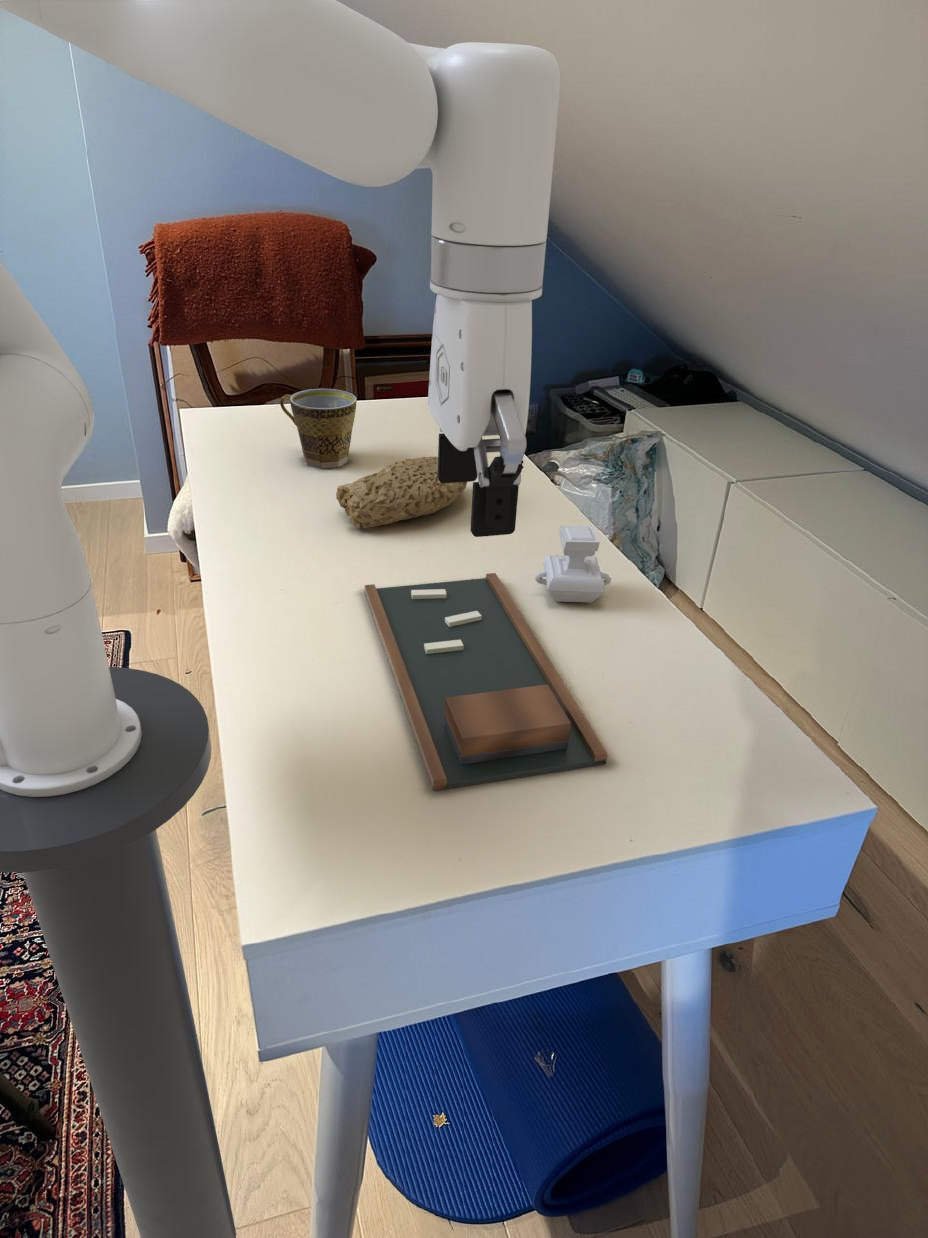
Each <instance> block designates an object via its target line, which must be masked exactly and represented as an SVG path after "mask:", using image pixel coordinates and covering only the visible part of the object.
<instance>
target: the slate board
mask: <svg viewBox="0 0 928 1238" xmlns="http://www.w3.org/2000/svg"><path fill="white" fill-rule="evenodd" d="M376 587H377V586H376V585H375V583H373V584H365V585H364V596H365V599H366V601H367V604H368V608H369V610H370V613H371V616H372V619H373V621H374V625H375V627H376V630H377V633H378V637H379V640H380V642H381V645H382V648H383V650H384V653H385V656H386V659H387V663H388V665H389V667H390V671H391V673H392V676H393V679H394V682H395V685H396V688H397V691H398V693H399V697H400V699H401V702H402V706H403V708H404V711H405V714H406V716H407V720H408V722H409V725H410V728H411V731H412V734H413V737H414V740H415V743H416V746H417V748H418V752H419V755H420V757H421V760H422V763H423V766H424V769H425V771H426V772H425V773H426V775H427V777H428V781H429V783H430V786H431V789H432V791H433V792H434V791H435V792H436V791H442V790H448V789H454V788H460V787H467V786H473V785H478V784H479V785H480V784H485V783H492V782H499V781H504V780H511V779H519V778H524V777H530V776H537V775H543V774H549V773H557V772H562V771H569V770H575V769H582V768H589V767H592V766H593V767H595V766H600V765H606V764H607V760H608V751H606V749H605V747H604V745H603V744H602V742H601V741H600V739H599V737H598V735H597V734H596V733H595V731H594V729H593V728H592V726H591V725H590V723H589V721H588V719H587V717H586V716H585V715H584V713H583V711H582V710H581V709H580V707H579V705H578V704H577V702H576V701H575V699H574V697H573V696H572V694H571V692H570V691H569V689H568V688H567V685H565V682H564V681H563V680H562V678H561V676H560V675H559V673H558V671H557V670H556V668H555V667H554V665H553V663H552V661H551V660H550V658H549V656H548V655H547V653H546V652H545V651H544V649H543V647H542V645H541V644H540V643H539V641H538V639H537V638H536V636H535V634H534V633H533V631H532V630H531V628H530V626H529V625H528V623H527V622H526V620H525V618H524V617H523V615H522V614H521V612H520V610H519V609H518V607H517V606H516V604H515V602H514V601H513V599H512V597H511V595H510V594H509V593H508V591H507V589H506V588H505V586H504V584H503V582H502V581H501V580H500V578H499V576H498V574H497V573H496V572H491V573H485V577H483V578H473V579H462V580H452V581H441V582H431V583H420V584H410V585H399V586H389V587H379V588H376ZM431 589H445V590H446V594H447V595H446V598H438V599H412V596H411V590H431ZM473 611H478V612H479V613H480V614H481V616H482V619H481V620H479V621H475V622H470V623H465V624H461V625H456V626H451V627H449V626H448V625H447V624H446V623H445V617H449V616H454V615H459V614H464V613H469V612H473ZM452 640H461V641H462V643H463V645H464V648H463V650H459V651H450V652H441V653H433V654H426V651H425V649H424V644H425V643H434V642H443V641H452ZM547 684H548V685H549V687H550V689H551V691H552V692H553V694H554V696H555V697H556V699H557V701H558V702H559V704H560V706H561V707H562V709H563V711H564V712H565V714H566V716H567V717H568V719H569V721H570V723H571V727H570V734H569V740H568V748H567V749H564V750H557V751H551V752H544V753H537V754H531V755H524V756H517V757H511V758H504V759H497V760H491V761H484V762H477V763H471V764H464V765H461V763H460V760H459V758H458V755H457V753H456V750H455V748H454V745H453V743H452V740H451V738H450V735H449V733H448V730H447V728H446V725H445V699H446V698H447V697H454V696H462V695H470V694H478V693H485V692H493V691H501V690H508V689H516V688H524V687H532V686H539V685H547Z"/></svg>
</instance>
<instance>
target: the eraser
mask: <svg viewBox="0 0 928 1238" xmlns="http://www.w3.org/2000/svg"><path fill="white" fill-rule="evenodd" d="M445 725H446V728H447V730H448V733H449V735H450V738H451V740H452V743H453V745H454V748H455V750H456V753H457V755H458V758H459V760H460V763H461V765H464V764H471V763H477V762H484V761H491V760H497V759H504V758H511V757H517V756H524V755H531V754H537V753H544V752H551V751H557V750H564V749H567V748H568V740H569V734H570V727H571V723H570V721H569V719H568V717H567V716H566V714H565V712H564V711H563V709H562V707H561V706H560V704H559V702H558V701H557V699H556V697H555V696H554V694H553V692H552V691H551V689H550V687H549V685H548V684H547V685H539V686H532V687H524V688H516V689H508V690H501V691H493V692H485V693H478V694H470V695H462V696H454V697H447V698H446V699H445Z"/></svg>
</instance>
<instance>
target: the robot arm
mask: <svg viewBox="0 0 928 1238" xmlns="http://www.w3.org/2000/svg"><path fill="white" fill-rule="evenodd" d="M0 8H1V9H3V10H5V11H7V12H8V13H11V14H13V15H15V16H17V17H19V18H20V19H23V20H25V21H27V22H28V23H31V24H32V25H35V26H37V27H39V28H41V29H42V30H45V31H46V32H48V33H50V34H52V35H53V36H55V37H57V38H59V39H61V40H63V41H65V42H67V43H69V44H71V45H73V46H75V47H77V48H79V49H81V50H83V51H85V52H87V53H88V54H91V55H92V56H95V57H97V58H99V59H101V60H103V61H105V62H107V63H108V64H110V65H112V66H114V67H116V68H117V69H119V70H121V71H122V72H123V73H125V74H127V75H129V76H130V77H132V78H134V79H136V80H139V81H141V82H143V83H146V84H149V85H150V86H151V85H152V86H153V87H156V88H158V89H160V90H162V91H165V92H166V93H169V94H171V95H172V96H174V97H176V98H177V99H179V100H182V101H183V102H185V103H187V104H188V105H191V106H192V107H194V108H196V109H199V110H200V111H202V112H204V113H206V114H207V115H210V116H211V117H213V118H215V119H216V120H219V121H221V122H223V123H224V124H226V125H228V126H231V127H232V128H234V129H236V130H238V131H240V132H242V133H244V134H246V135H248V136H250V137H252V138H254V139H256V140H258V141H260V142H261V143H264V144H266V145H269V146H270V147H272V148H274V149H276V150H278V151H280V152H281V153H284V154H286V155H288V156H290V157H292V158H294V159H296V160H298V161H300V162H302V163H304V164H306V165H309V166H310V167H311V168H314V169H316V170H319V171H321V172H322V173H324V174H327V175H329V176H331V177H333V178H335V179H337V180H340V181H343V182H345V183H348V184H351V185H354V186H361V187H365V188H366V187H367V188H377V187H385V186H389V185H392V184H395V183H397V182H399V181H401V180H403V179H405V178H406V177H408V176H409V175H410V174H411V173H412V172H413V171H415V170H418V169H420V170H421V169H430V171H431V175H432V187H431V193H432V194H431V231H430V232H431V233H430V234H431V236H430V256H429V257H430V259H429V263H430V264H429V269H430V270H429V290H430V291H432V293H434V294H435V295H436V297H435V298H436V299H435V305H434V311H433V312H434V313H433V323H432V332H431V333H432V334H431V349H430V362H429V377H428V393H427V406H428V407H427V408H428V411H429V414H430V415H431V417H432V419H433V421H434V422H435V423H436V425H437V426H438V429H439V431H440V433H438V444H437V445H438V446H437V447H438V448H437V454H438V455H437V457H438V475H437V477H438V480H439V481H440V482H441V483H457V482H467V483H470V482H472V491H471V492H472V494H471V496H472V497H471V511H470V527H469V528H470V532H471V533H470V534H472V536H473V537H475V538H482V537H494V536H504V535H506V536H507V535H512V534H513V533H515V531H516V522H517V512H518V498H519V488H520V487H519V486H520V485H521V481H522V470H523V469H524V468H525V467H524V465H523V464H524V455H525V454H526V453H525V452H526V450H527V437H526V433H527V427H528V418H529V408H530V397H531V396H530V395H531V381H532V380H531V375H532V347H533V346H532V344H533V302H532V301H533V300H536V299H539V298H540V297H541V296H542V295H543V287H544V286H543V284H544V273H545V264H546V263H545V262H546V250H547V236H548V227H549V217H550V206H551V205H550V204H551V195H552V194H551V193H552V185H553V184H552V183H553V173H554V172H553V171H554V162H555V161H554V160H555V150H556V139H557V138H556V137H557V127H558V116H559V104H560V95H561V94H560V93H561V71H560V67H559V63H558V61H557V59H556V57H555V56H554V55H553V53H552V52H551V51H549V50H547V49H545V48H542V47H538V46H534V45H528V44H520V43H503V42H479V41H477V42H475V41H473V42H472V41H469V42H468V41H467V42H460V43H459V42H458V43H455V44H453V45H452V44H451V45H450V46H448V47H446V48H443V47H435V46H428V45H424V44H418V43H411V42H407V41H406V40H405V39H404V38H402V37H401V36H400V35H399V34H397V33H396V32H394V31H392V30H390V29H389V28H387V27H385V26H383V25H382V24H380V23H378V22H377V21H374V20H373V19H371V18H369V17H367V16H366V15H363V14H362V13H360V12H358V11H356V10H354V9H353V8H351V7H349V6H347V5H346V4H343V3H342V2H340V1H338V0H0ZM94 427H95V409H94V404H93V399H92V397H91V394H90V391H89V389H88V387H87V385H86V383H85V382H84V380H83V378H82V376H81V374H80V372H79V371H78V370H77V368H76V366H75V365H74V364H73V362H72V361H71V359H70V358H69V356H68V355H67V354H66V352H65V350H64V349H63V348H62V346H61V345H60V343H59V342H58V340H57V339H56V337H55V336H54V334H53V333H52V332H51V330H50V329H49V327H48V325H46V324H45V322H44V320H43V319H42V318H41V316H40V314H39V313H38V311H37V310H36V309H35V307H34V306H33V304H32V303H31V301H30V300H29V299H28V297H27V296H26V295H25V293H24V292H23V290H22V288H20V286H19V284H18V283H17V281H16V280H15V279H14V277H13V276H12V275H11V273H10V272H9V270H8V269H7V267H6V266H5V264H4V263H3V262H2V261H1V260H0V789H1V790H3V791H5V792H8V793H12V794H15V795H20V796H29V797H49V796H56V795H63V794H67V793H71V792H75V791H79V790H82V789H85V788H87V787H90V786H92V785H95V784H97V783H99V782H101V781H103V780H105V779H106V778H108V777H110V776H111V775H113V774H114V773H116V772H117V771H118V770H120V769H121V768H122V767H123V766H124V765H125V764H126V763H127V762H129V761H130V759H131V758H132V757H133V755H134V754H135V753H136V751H137V749H138V747H139V745H140V742H141V736H142V732H141V725H140V721H139V718H138V715H137V714H136V712H135V711H134V710H133V709H132V708H131V707H130V706H129V705H127V704H126V703H124V702H122V701H120V700H118V699H116V698H115V693H114V689H113V684H112V679H111V674H110V669H109V667H110V664H109V661H108V656H107V655H108V654H107V651H106V646H105V642H104V637H103V632H102V626H101V622H100V617H99V613H98V609H97V608H98V607H97V603H96V597H95V593H94V588H93V584H92V579H91V577H90V572H89V566H88V562H87V558H86V554H85V552H84V551H85V550H84V547H83V543H82V541H81V538H80V536H79V533H78V530H77V528H76V527H75V524H74V522H73V520H72V518H71V516H70V514H69V512H68V509H67V508H66V505H65V502H64V497H63V488H62V487H63V486H62V484H63V481H64V479H65V477H66V476H67V475H68V473H69V472H70V470H71V468H72V467H73V465H74V464H75V463H76V461H77V460H78V459H79V458H80V456H81V455H82V454H83V452H84V450H85V449H86V448H87V445H88V444H89V442H90V439H91V438H92V435H93V431H94ZM491 436H499V438H484V439H483V437H491ZM488 453H499V456H494V458H493V459H492V461H491V462H490V464H489V460H488Z"/></svg>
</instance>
